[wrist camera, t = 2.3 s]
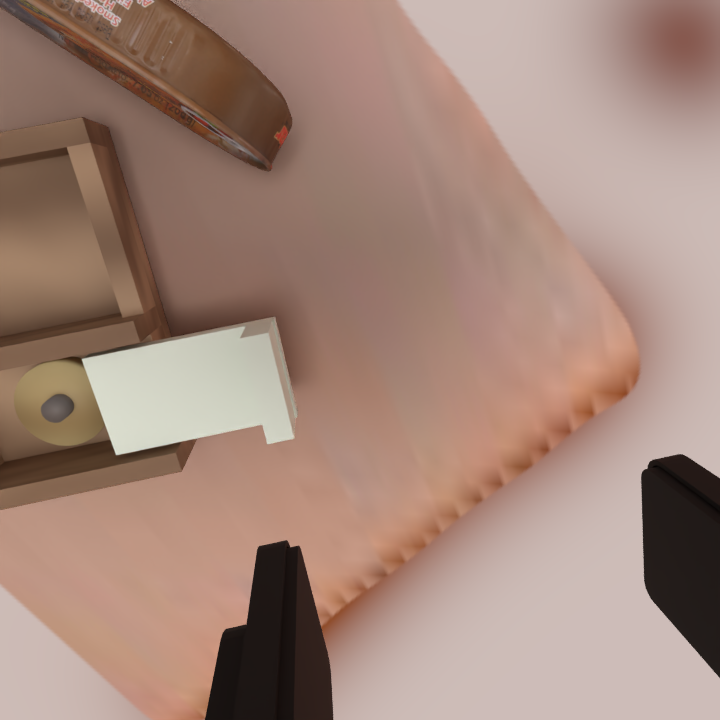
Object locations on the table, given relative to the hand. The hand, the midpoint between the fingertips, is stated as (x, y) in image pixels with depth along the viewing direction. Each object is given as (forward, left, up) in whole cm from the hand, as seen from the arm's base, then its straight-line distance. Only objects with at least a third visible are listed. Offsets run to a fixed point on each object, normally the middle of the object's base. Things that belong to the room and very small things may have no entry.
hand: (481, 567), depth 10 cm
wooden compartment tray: (-4, -16, -20) cm, 26 cm away
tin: (-15, -8, -20) cm, 26 cm away
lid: (0, -9, -16) cm, 19 cm away
